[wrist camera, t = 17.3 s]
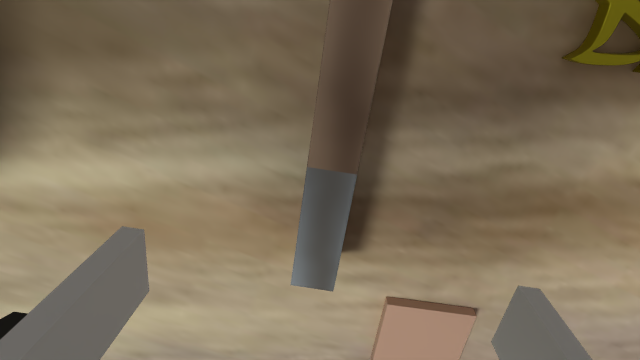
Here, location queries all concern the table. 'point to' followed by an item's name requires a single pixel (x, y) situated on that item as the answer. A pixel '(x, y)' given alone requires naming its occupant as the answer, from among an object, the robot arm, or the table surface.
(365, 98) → the brown and grey bar
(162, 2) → the table surface
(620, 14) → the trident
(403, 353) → the tile
